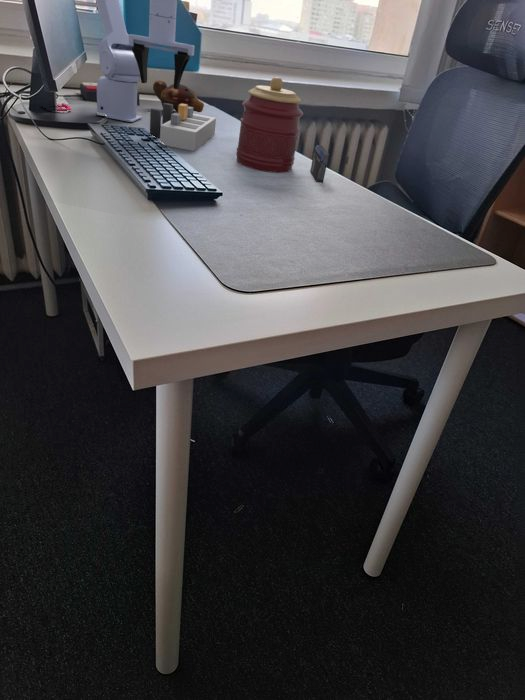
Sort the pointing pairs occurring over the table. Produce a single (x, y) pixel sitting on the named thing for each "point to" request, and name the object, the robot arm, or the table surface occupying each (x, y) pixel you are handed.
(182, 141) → the breaker panel
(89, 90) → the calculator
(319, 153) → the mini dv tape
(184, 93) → the decorative turtle
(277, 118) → the canister
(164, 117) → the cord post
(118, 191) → the table surface
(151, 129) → the disc
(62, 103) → the fitness band
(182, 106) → the block
